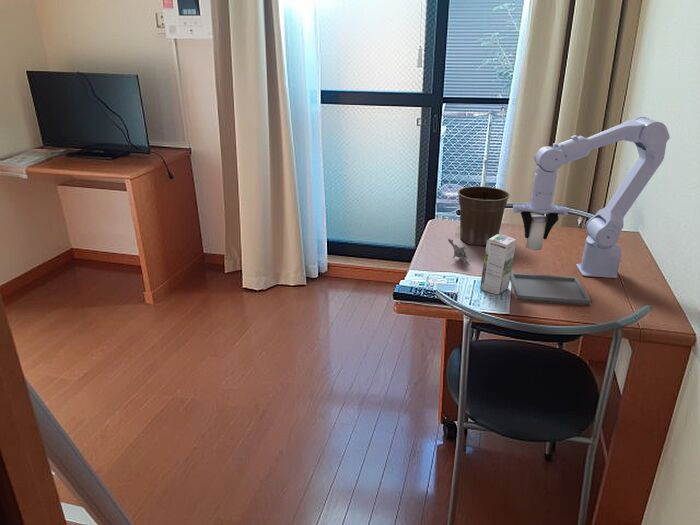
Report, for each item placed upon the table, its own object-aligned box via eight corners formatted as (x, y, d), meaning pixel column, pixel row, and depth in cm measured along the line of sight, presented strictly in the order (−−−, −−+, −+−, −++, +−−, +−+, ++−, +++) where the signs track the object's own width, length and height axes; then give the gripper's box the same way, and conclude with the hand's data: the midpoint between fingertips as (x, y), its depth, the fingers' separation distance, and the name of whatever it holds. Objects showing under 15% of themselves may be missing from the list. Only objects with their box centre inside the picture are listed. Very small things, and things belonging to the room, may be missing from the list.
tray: (575, 281, 150) (576, 277, 149) (589, 305, 137) (590, 300, 137) (509, 277, 152) (509, 272, 151) (517, 300, 139) (517, 295, 139)
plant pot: (448, 243, 175) (452, 196, 169) (458, 228, 189) (463, 183, 182) (499, 252, 169) (505, 202, 163) (506, 235, 183) (512, 189, 177)
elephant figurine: (480, 259, 164) (475, 259, 156) (465, 270, 166) (459, 271, 158) (460, 233, 167) (454, 232, 158) (445, 245, 169) (438, 244, 160)
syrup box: (489, 282, 149) (495, 233, 143) (509, 288, 146) (516, 238, 140) (479, 289, 145) (485, 238, 139) (500, 295, 142) (507, 244, 136)
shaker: (540, 244, 157) (545, 214, 153) (543, 250, 153) (548, 219, 149) (524, 244, 157) (529, 213, 153) (527, 249, 153) (532, 218, 149)
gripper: (518, 194, 145) (511, 241, 151) (574, 196, 144) (565, 244, 149) (514, 187, 152) (507, 232, 157) (567, 189, 150) (559, 235, 156)
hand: (535, 237), depth 154 cm, fingers closed on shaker, 4 cm apart
